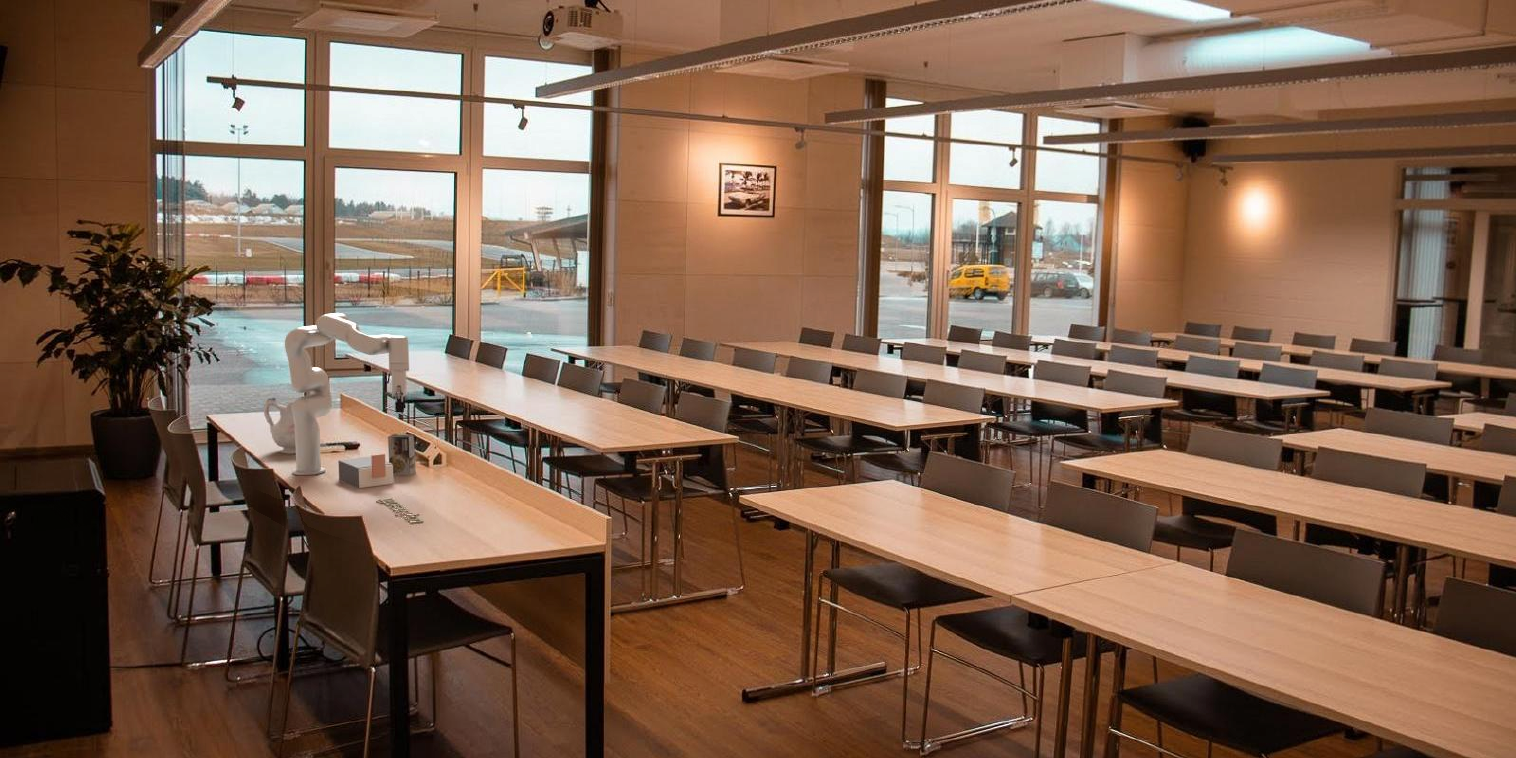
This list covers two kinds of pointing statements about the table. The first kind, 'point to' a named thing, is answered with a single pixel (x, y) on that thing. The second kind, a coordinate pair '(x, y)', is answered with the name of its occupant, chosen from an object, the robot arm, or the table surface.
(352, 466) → the low grey box
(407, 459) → the coffee box
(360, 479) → the box with pink tab
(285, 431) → the ceramic pitcher
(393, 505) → the text sign
